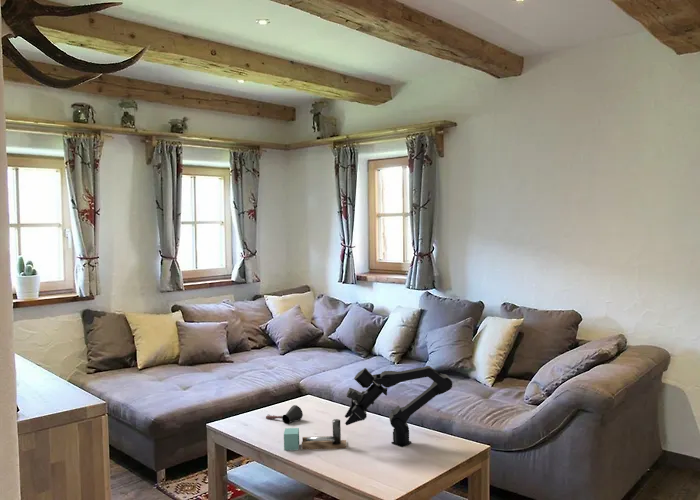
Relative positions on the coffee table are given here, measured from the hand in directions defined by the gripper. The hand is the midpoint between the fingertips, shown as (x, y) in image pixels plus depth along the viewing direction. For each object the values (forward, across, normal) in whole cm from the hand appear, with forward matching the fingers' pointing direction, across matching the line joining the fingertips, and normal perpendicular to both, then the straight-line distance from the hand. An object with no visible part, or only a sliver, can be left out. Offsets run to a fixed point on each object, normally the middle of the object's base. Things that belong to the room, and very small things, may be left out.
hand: (345, 420), depth 249 cm
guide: (+14, 0, +1) cm, 14 cm away
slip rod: (+14, 0, 0) cm, 14 cm away
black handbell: (+29, -35, -13) cm, 48 cm away
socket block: (+24, 0, -9) cm, 26 cm away
